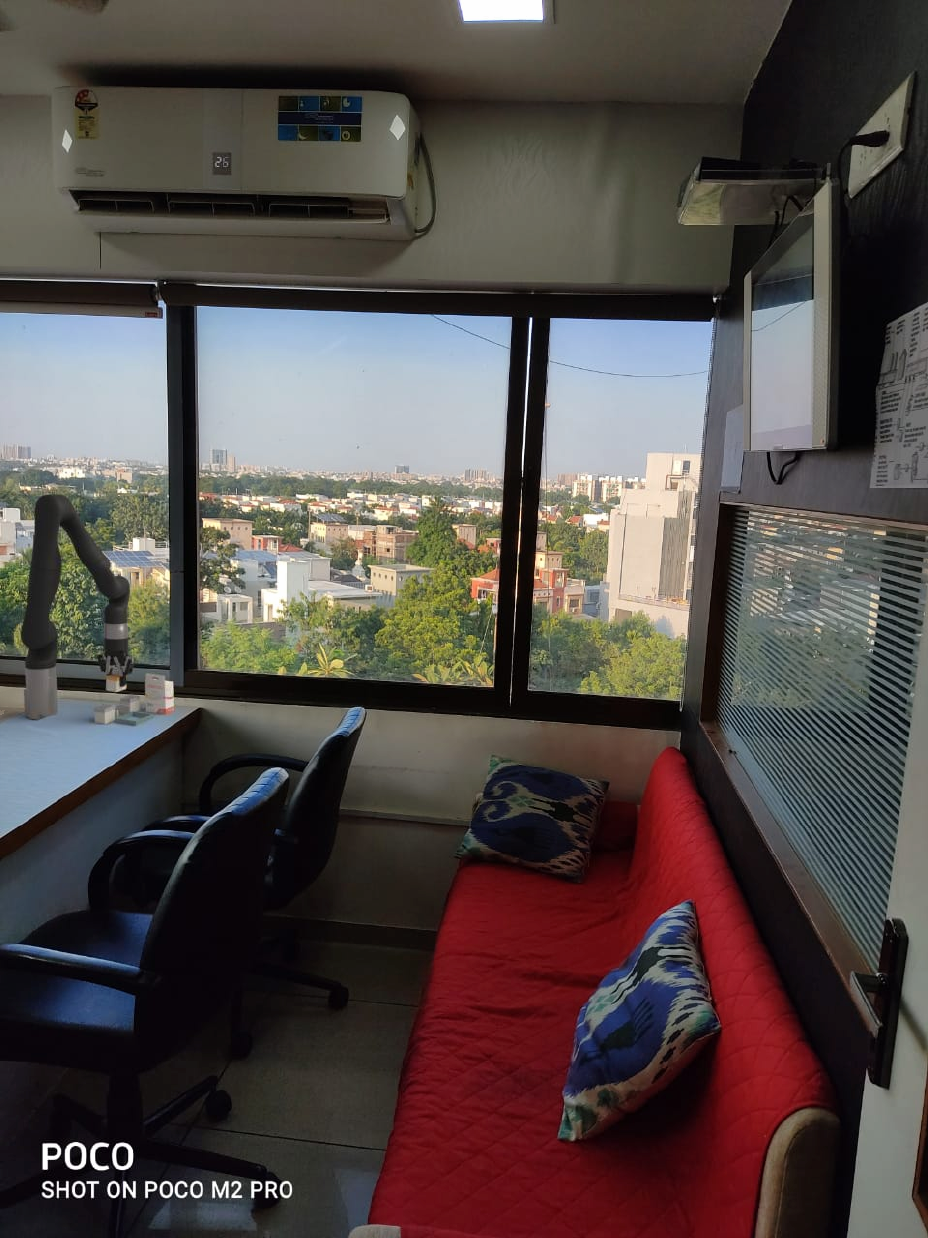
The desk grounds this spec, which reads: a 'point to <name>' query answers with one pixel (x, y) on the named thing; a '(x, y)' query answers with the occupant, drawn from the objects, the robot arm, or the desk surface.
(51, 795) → the desk surface
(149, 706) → the ink cartridge box
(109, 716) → the board
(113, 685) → the block
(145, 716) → the tray
